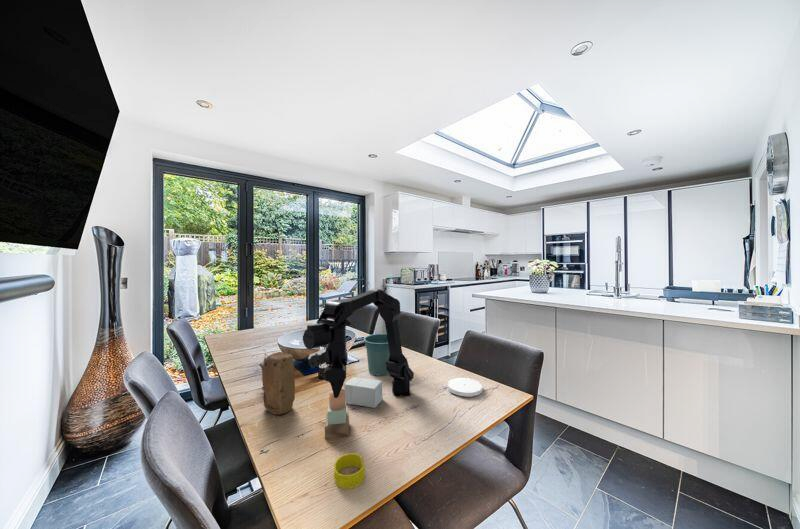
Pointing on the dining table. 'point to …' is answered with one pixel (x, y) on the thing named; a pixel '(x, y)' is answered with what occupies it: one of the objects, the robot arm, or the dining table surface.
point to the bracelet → (352, 479)
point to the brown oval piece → (337, 400)
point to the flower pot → (377, 353)
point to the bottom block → (337, 429)
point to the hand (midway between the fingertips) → (337, 390)
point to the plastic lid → (464, 387)
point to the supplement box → (363, 392)
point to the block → (278, 382)
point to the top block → (337, 416)
